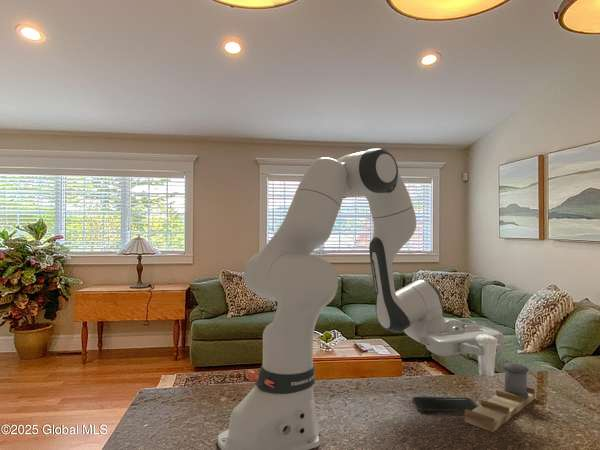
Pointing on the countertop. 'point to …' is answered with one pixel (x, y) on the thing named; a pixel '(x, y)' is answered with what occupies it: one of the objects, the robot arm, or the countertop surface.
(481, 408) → the organizer
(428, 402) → the phone
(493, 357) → the milkshake
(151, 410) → the countertop surface
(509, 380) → the spool
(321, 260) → the robot arm
